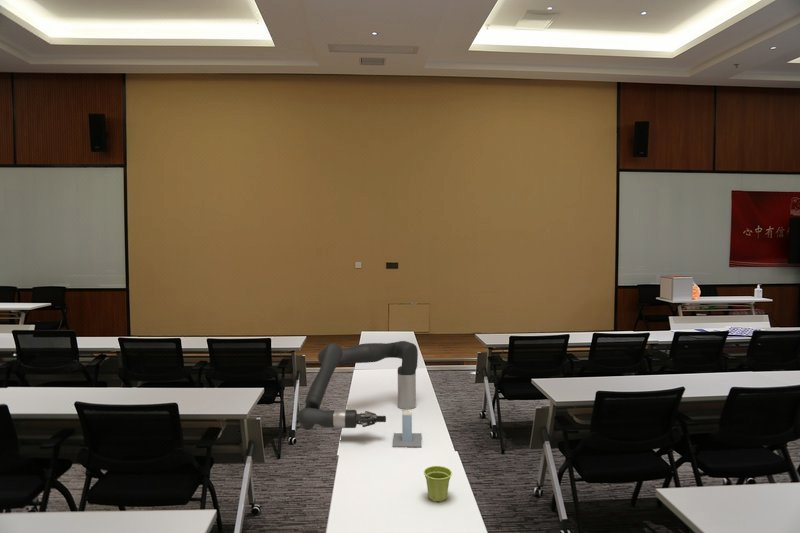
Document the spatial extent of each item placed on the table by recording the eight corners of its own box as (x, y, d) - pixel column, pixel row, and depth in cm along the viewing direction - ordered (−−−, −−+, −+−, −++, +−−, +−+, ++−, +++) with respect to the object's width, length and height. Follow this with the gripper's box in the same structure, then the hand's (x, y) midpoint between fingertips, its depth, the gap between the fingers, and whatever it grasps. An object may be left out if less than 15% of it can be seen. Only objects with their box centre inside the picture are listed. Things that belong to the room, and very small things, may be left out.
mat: (393, 434, 225) (393, 433, 225) (421, 434, 224) (421, 433, 224) (392, 447, 211) (392, 446, 211) (421, 447, 210) (421, 446, 210)
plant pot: (450, 490, 175) (450, 465, 175) (453, 504, 166) (453, 478, 165) (422, 490, 175) (422, 466, 174) (425, 505, 165) (424, 479, 165)
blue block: (402, 437, 220) (402, 410, 219) (411, 437, 219) (411, 410, 219) (402, 441, 216) (402, 413, 215) (412, 441, 215) (411, 413, 215)
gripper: (342, 415, 211) (384, 415, 210) (347, 405, 224) (386, 405, 224) (343, 433, 211) (385, 433, 211) (347, 421, 225) (386, 421, 224)
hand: (385, 418), depth 217 cm, fingers closed
